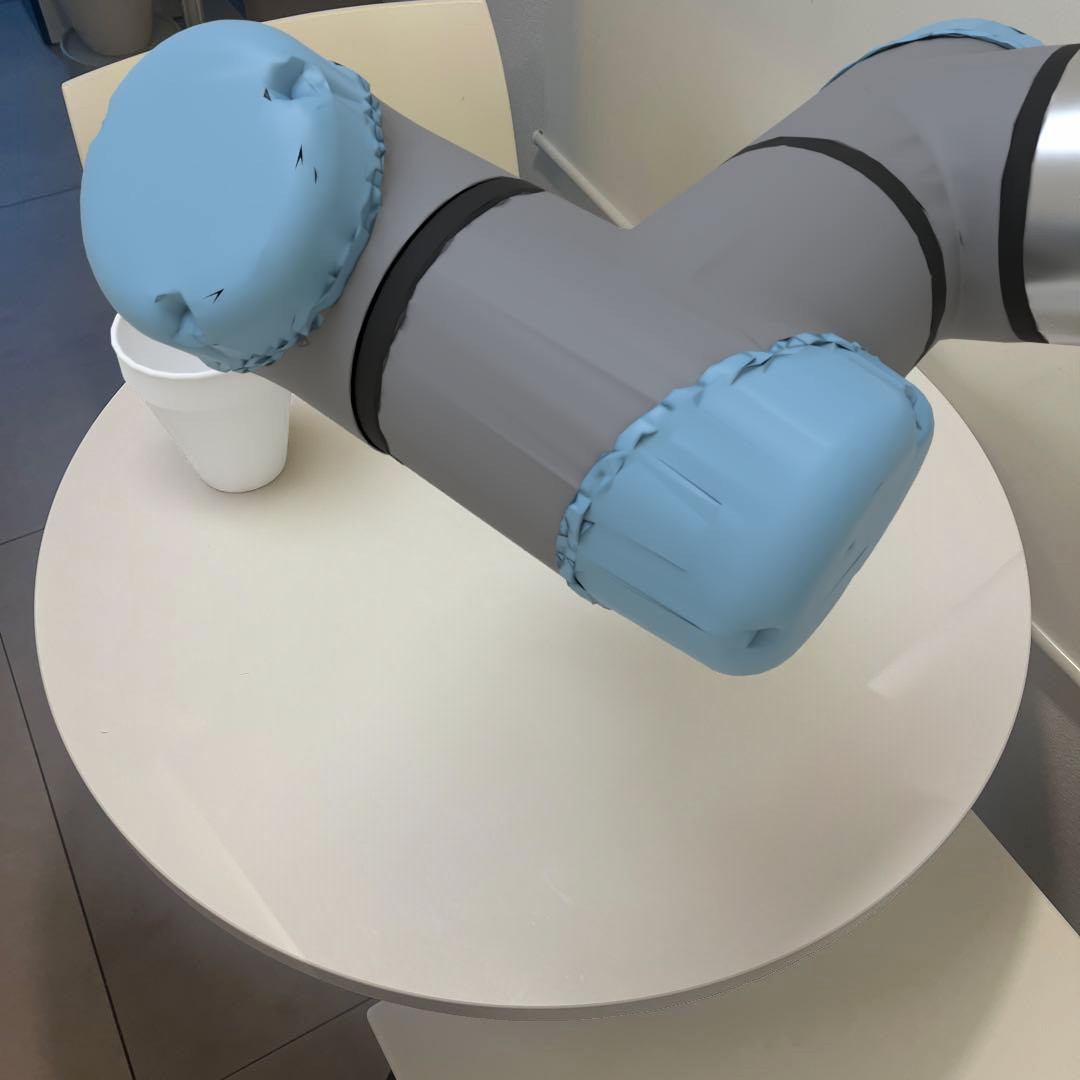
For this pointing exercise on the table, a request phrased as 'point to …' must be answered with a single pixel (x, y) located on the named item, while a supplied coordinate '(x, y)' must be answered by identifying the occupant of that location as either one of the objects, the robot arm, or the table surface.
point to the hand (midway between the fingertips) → (674, 419)
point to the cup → (209, 410)
